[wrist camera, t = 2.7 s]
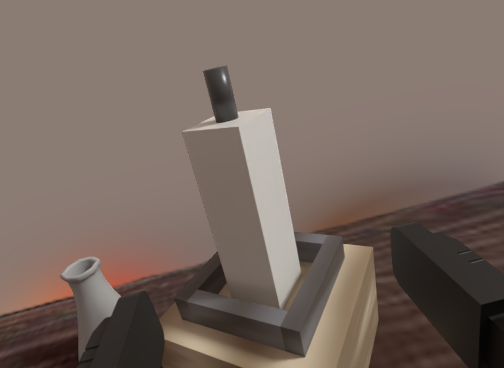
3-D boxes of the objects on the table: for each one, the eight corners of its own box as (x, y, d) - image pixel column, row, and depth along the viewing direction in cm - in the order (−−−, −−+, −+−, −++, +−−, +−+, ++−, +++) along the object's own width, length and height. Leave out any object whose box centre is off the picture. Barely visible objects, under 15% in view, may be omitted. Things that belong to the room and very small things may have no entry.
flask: (115, 315, 37) (80, 243, 34) (167, 320, 35) (135, 243, 31) (66, 372, 31) (16, 293, 27) (125, 384, 29) (79, 298, 25)
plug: (232, 300, 24) (166, 79, 18) (256, 266, 27) (207, 68, 21) (281, 312, 22) (224, 67, 16) (301, 274, 25) (260, 57, 19)
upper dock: (179, 405, 26) (137, 311, 22) (254, 293, 36) (234, 215, 32) (342, 486, 19) (321, 370, 15) (378, 320, 29) (370, 226, 25)
